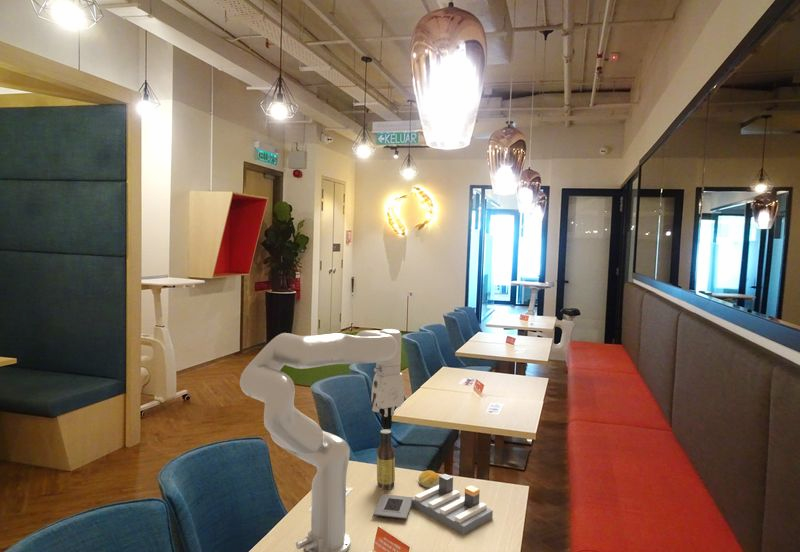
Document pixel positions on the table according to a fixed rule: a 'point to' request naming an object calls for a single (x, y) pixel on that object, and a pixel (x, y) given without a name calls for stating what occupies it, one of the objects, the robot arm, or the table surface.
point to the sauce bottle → (385, 461)
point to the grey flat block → (393, 506)
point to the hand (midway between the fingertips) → (386, 427)
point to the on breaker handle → (445, 484)
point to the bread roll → (429, 479)
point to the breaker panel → (451, 509)
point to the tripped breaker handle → (471, 496)
